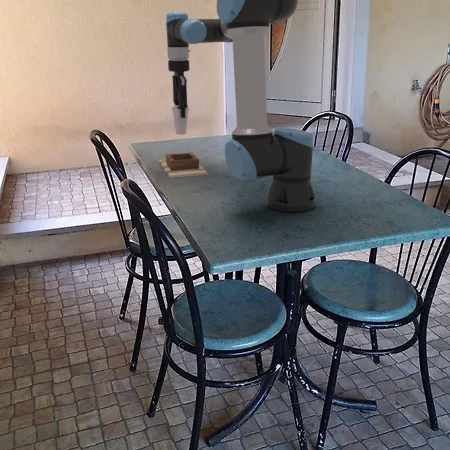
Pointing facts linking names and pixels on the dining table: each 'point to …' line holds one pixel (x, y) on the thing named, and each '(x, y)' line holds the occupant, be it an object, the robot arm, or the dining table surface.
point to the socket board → (182, 165)
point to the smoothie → (176, 120)
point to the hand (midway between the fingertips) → (180, 124)
